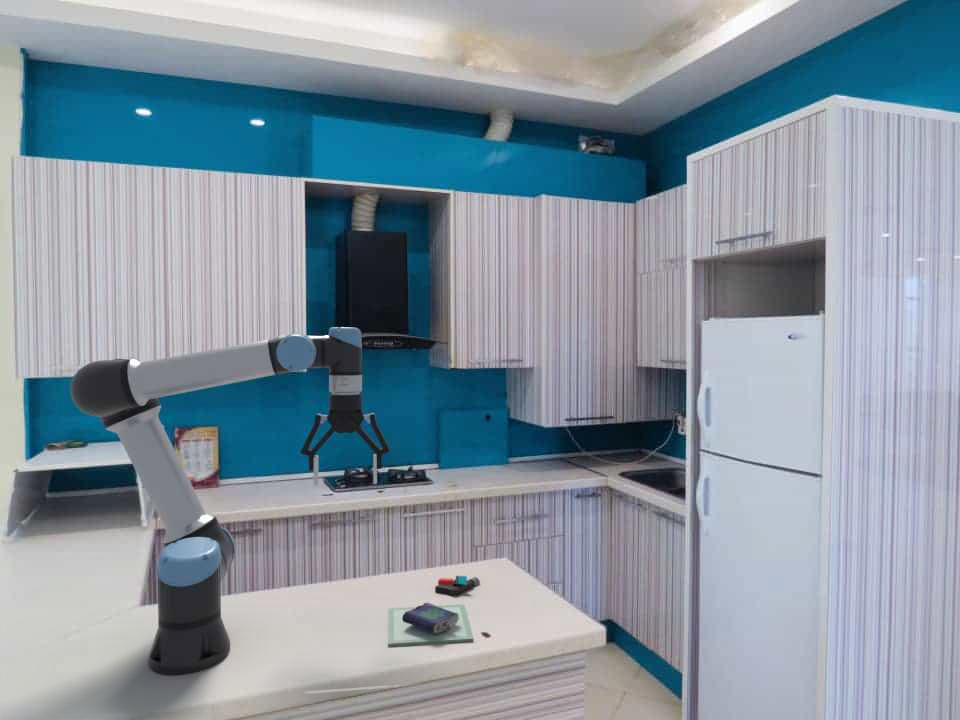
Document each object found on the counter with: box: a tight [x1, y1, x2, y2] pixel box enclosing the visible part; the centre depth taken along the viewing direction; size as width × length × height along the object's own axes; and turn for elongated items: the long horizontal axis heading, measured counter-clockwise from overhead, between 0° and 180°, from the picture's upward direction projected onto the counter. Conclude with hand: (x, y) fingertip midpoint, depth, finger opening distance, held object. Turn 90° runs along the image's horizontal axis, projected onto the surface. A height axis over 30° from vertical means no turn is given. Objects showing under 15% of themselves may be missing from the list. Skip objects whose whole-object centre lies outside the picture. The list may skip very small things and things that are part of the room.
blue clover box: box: [402, 602, 459, 634], centre depth 140 cm, size 9×3×11 cm
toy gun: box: [434, 575, 480, 597], centre depth 164 cm, size 10×12×5 cm
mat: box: [387, 603, 474, 648], centre depth 142 cm, size 18×18×1 cm
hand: (345, 483), depth 148 cm, fingers open, 13 cm apart
